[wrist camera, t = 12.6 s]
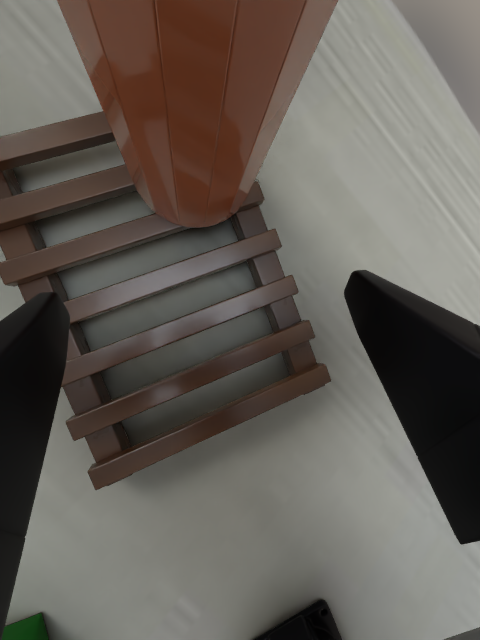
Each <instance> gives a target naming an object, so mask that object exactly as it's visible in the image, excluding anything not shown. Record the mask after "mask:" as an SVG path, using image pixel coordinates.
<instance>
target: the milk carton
mask: <svg viewBox="0 0 480 640" xmlns="http://www.w3.org/2000/svg"><path fill="white" fill-rule="evenodd" d="M2 640H49V638H48V635H47V631H46V628H45V624H44V621H43V617H42V613H40V614H37V615H35V616H32V617H29V618H27V619H24V620H21V621H19V622H16V623H13V624H11V625H8V626H5V627H4V631H3V635H2Z"/></svg>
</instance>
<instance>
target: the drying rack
mask: <svg viewBox="0 0 480 640" xmlns="http://www.w3.org/2000/svg"><path fill="white" fill-rule="evenodd" d="M113 141H116V140H115V137H114V135H113V133H112V130H111V128H110V125H109V123H108V121H107V118H106V116H105V114H104V111H102V112H98V113H94V114H90V115H86V116H82V117H78V118H74V119H70V120H66V121H62V122H58V123H54V124H50V125H46V126H42V127H38V128H34V129H30V130H26V131H22V132H17V133H13V134H9V135H5V136H1V137H0V246H1V248H2V250H3V253H4V255H5V257H6V259H7V260H6V261H3V262H0V276H1V278H2V280H3V283H4V284H5V285H8V286H17V285H18V287H19V289H20V291H21V293H22V296H23V298H24V300H25V303H26V302H28V301H29V300H30V299H32V298H33V297H34V296H36V295H37V294H39V293H42V292H57V293H58V294H59V295H60V297H61V299H62V301H63V303H64V304H65V306H66V308H67V310H68V312H69V315H70V328H69V339H68V349H67V359H66V367H65V372H64V376H63V380H62V385H61V387H62V386H63V389H64V391H65V393H66V396H67V398H68V400H69V402H70V405H71V407H72V409H73V411H74V414H75V415H74V416H72V417H71V418H69V419H68V420H67V421H66V424H67V427H68V429H69V431H70V433H71V436H72V438H73V440H74V441H76V440H78V439H80V438H83V437H85V439H86V441H87V443H88V445H89V448H90V450H91V452H92V454H93V457H94V459H95V461H96V463H94V464H92V466H91V467H90V468H89V470H88V474H89V476H90V479H91V481H92V483H93V485H94V488H95V490H98V489H100V488H102V487H104V486H109V485H111V484H113V483H115V482H117V481H119V480H122V479H124V478H126V477H128V476H130V475H132V474H133V473H134V472H137V471H139V470H141V469H143V468H145V467H147V466H150V465H152V464H154V463H156V462H158V461H160V460H163V459H165V458H167V457H169V456H171V455H173V454H175V453H178V452H180V451H182V450H184V449H186V448H188V447H191V446H193V445H195V444H197V443H199V442H201V441H203V440H206V439H208V438H210V437H212V436H214V435H216V434H219V433H221V432H223V431H225V430H227V429H229V428H231V427H234V426H236V425H238V424H240V423H242V422H244V421H247V420H249V419H251V418H253V417H255V416H257V415H260V414H262V413H264V412H266V411H268V410H270V409H272V408H275V407H277V406H279V405H281V404H283V403H285V402H288V401H290V400H292V399H294V398H296V397H298V396H300V395H303V394H304V395H305V394H307V393H309V392H312V391H314V390H316V389H318V388H320V387H322V386H325V384H326V383H328V382H331V378H330V376H329V373H328V370H327V368H326V365H325V364H323V363H317V362H316V359H315V357H314V354H313V351H312V349H311V346H310V343H309V340H310V339H313V338H315V335H314V332H313V330H312V327H311V324H310V322H309V320H303V321H301V319H300V316H299V313H298V311H297V308H296V305H295V303H294V300H293V297H292V295H294V294H297V293H298V289H297V286H296V283H295V281H294V278H293V276H292V275H290V276H287V277H285V276H284V273H283V270H282V268H281V265H280V262H279V259H278V257H277V254H276V250H278V249H279V248H281V247H282V245H281V243H280V240H279V237H278V234H277V232H276V229H272V230H269V231H268V230H267V227H266V224H265V222H264V219H263V216H262V214H261V211H260V208H259V205H261V204H262V202H263V201H264V197H263V194H262V191H261V189H260V186H259V183H258V181H256V182H254V183H253V185H252V187H251V189H250V191H249V194H248V196H247V198H246V200H245V201H244V203H243V204H242V206H241V207H240V208H239V209H238V210H237V211H236V212H235V213H234V214H233V215H232V216H231V217H230V218H231V220H232V223H233V226H234V228H235V231H236V234H237V236H238V239H239V241H237V242H234V243H232V244H229V245H226V246H223V247H220V248H217V249H214V250H211V251H209V252H206V253H203V254H200V255H197V256H194V257H191V258H189V259H186V260H183V261H180V262H177V263H174V264H171V265H169V266H166V267H163V268H160V269H157V270H154V271H151V272H149V273H146V274H143V275H140V276H137V277H134V278H131V279H129V280H126V281H123V282H120V283H117V284H114V285H111V286H109V287H106V288H103V289H100V290H97V291H94V292H91V293H89V294H86V295H83V296H80V297H77V298H74V299H71V300H68V298H67V295H66V293H65V291H64V288H63V286H62V284H61V281H60V279H59V277H58V274H57V272H59V271H62V270H65V269H68V268H71V267H74V266H77V265H80V264H83V263H86V262H89V261H92V260H95V259H98V258H101V257H104V256H107V255H110V254H113V253H116V252H119V251H122V250H125V249H128V248H131V247H134V246H137V245H140V244H143V243H146V242H149V241H152V240H155V239H158V238H161V237H164V236H167V235H170V234H173V233H176V232H179V231H183V230H186V229H189V228H192V227H185V226H181V225H177V224H175V223H172V222H170V221H168V220H166V219H164V218H162V217H161V216H159V215H158V214H157V213H155V214H152V215H148V216H145V217H142V218H139V219H136V220H133V221H129V222H126V223H123V224H120V225H117V226H114V227H111V228H107V229H104V230H101V231H98V232H95V233H92V234H88V235H85V236H82V237H79V238H76V239H73V240H69V241H66V242H63V243H60V244H57V245H54V246H50V247H47V248H46V247H45V244H44V242H43V240H42V237H41V235H40V233H39V230H38V228H37V226H36V223H35V221H36V220H39V219H43V218H46V217H50V216H53V215H56V214H60V213H63V212H66V211H70V210H73V209H76V208H80V207H83V206H86V205H90V204H93V203H96V202H100V201H103V200H106V199H110V198H113V197H116V196H120V195H123V194H126V193H130V192H133V191H136V190H137V189H136V187H135V185H134V183H133V180H132V178H131V176H130V173H129V171H128V168H127V166H126V164H125V165H121V166H118V167H114V168H111V169H107V170H104V171H100V172H97V173H93V174H89V175H86V176H82V177H79V178H75V179H72V180H68V181H65V182H61V183H58V184H54V185H50V186H47V187H43V188H40V189H36V190H33V191H29V192H26V193H22V191H21V188H20V186H19V184H18V181H17V179H16V177H15V174H14V172H13V170H12V168H16V167H19V166H23V165H27V164H31V163H34V162H38V161H42V160H46V159H49V158H53V157H57V156H61V155H64V154H68V153H72V152H76V151H79V150H83V149H87V148H91V147H94V146H98V145H102V144H106V143H109V142H113ZM246 261H247V263H248V265H249V268H250V271H251V273H252V276H253V279H254V281H255V284H256V287H257V288H256V289H253V290H250V291H248V292H245V293H243V294H240V295H237V296H235V297H232V298H230V299H227V300H224V301H222V302H219V303H217V304H214V305H211V306H209V307H206V308H203V309H201V310H198V311H196V312H193V313H190V314H188V315H185V316H183V317H180V318H177V319H175V320H172V321H170V322H167V323H164V324H162V325H159V326H157V327H154V328H151V329H149V330H146V331H143V332H141V333H138V334H136V335H133V336H130V337H128V338H125V339H123V340H120V341H117V342H115V343H112V344H110V345H107V346H104V347H102V348H99V349H97V350H94V351H90V349H89V347H88V344H87V342H86V340H85V337H84V335H83V333H82V330H81V328H80V326H79V323H78V322H81V321H83V320H86V319H89V318H92V317H94V316H97V315H100V314H103V313H105V312H108V311H111V310H114V309H116V308H119V307H122V306H125V305H127V304H130V303H133V302H136V301H138V300H141V299H144V298H147V297H149V296H152V295H155V294H158V293H160V292H163V291H166V290H169V289H171V288H174V287H177V286H180V285H182V284H185V283H188V282H191V281H193V280H196V279H199V278H202V277H204V276H207V275H210V274H213V273H215V272H218V271H221V270H224V269H226V268H229V267H232V266H235V265H237V264H240V263H243V262H246ZM262 307H264V308H265V310H266V313H267V316H268V318H269V321H270V323H271V326H272V329H273V331H274V333H271V334H269V335H267V336H264V337H262V338H259V339H257V340H255V341H252V342H250V343H247V344H245V345H243V346H240V347H238V348H235V349H233V350H230V351H228V352H226V353H223V354H221V355H218V356H216V357H214V358H211V359H209V360H206V361H204V362H202V363H199V364H197V365H194V366H192V367H190V368H187V369H185V370H182V371H180V372H178V373H175V374H173V375H170V376H168V377H166V378H163V379H161V380H158V381H156V382H154V383H151V384H149V385H146V386H144V387H142V388H139V389H137V390H134V391H132V392H129V393H127V394H125V395H122V396H120V397H117V398H115V399H113V400H111V398H110V396H109V393H108V391H107V389H106V386H105V384H104V382H103V379H102V377H101V375H100V371H103V370H105V369H108V368H110V367H113V366H115V365H118V364H120V363H123V362H125V361H128V360H130V359H133V358H136V357H138V356H141V355H143V354H146V353H148V352H151V351H153V350H156V349H158V348H161V347H163V346H166V345H168V344H171V343H173V342H176V341H178V340H181V339H183V338H186V337H188V336H191V335H193V334H196V333H199V332H201V331H204V330H206V329H209V328H211V327H214V326H216V325H219V324H221V323H224V322H226V321H229V320H231V319H234V318H236V317H239V316H241V315H244V314H246V313H249V312H251V311H254V310H256V309H259V308H262ZM280 352H281V353H282V355H283V358H284V360H285V363H286V366H287V368H288V371H289V374H290V376H288V377H286V378H284V379H282V380H280V381H277V382H275V383H273V384H271V385H268V386H266V387H264V388H262V389H259V390H257V391H255V392H253V393H251V394H248V395H246V396H244V397H242V398H239V399H237V400H235V401H233V402H230V403H228V404H226V405H224V406H222V407H219V408H217V409H215V410H213V411H210V412H208V413H206V414H204V415H201V416H199V417H197V418H195V419H193V420H190V421H188V422H186V423H184V424H181V425H179V426H177V427H175V428H172V429H170V430H168V431H166V432H164V433H161V434H159V435H157V436H155V437H152V438H150V439H148V440H146V441H143V442H141V443H139V444H137V445H134V446H132V447H131V445H130V442H129V440H128V438H127V435H126V433H125V431H124V428H123V426H122V424H121V421H122V420H125V419H127V418H129V417H131V416H134V415H136V414H138V413H141V412H143V411H145V410H148V409H150V408H152V407H155V406H157V405H159V404H162V403H164V402H166V401H169V400H171V399H173V398H176V397H178V396H180V395H183V394H185V393H187V392H190V391H192V390H194V389H197V388H199V387H201V386H204V385H206V384H208V383H210V382H213V381H215V380H217V379H220V378H222V377H224V376H227V375H229V374H231V373H234V372H236V371H238V370H241V369H243V368H245V367H248V366H250V365H252V364H255V363H257V362H259V361H262V360H264V359H266V358H269V357H271V356H273V355H276V354H278V353H280Z"/></svg>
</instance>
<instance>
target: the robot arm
mask: <svg viewBox="0 0 480 640" xmlns="http://www.w3.org/2000/svg"><path fill="white" fill-rule="evenodd" d="M344 297H345V300H346V303H347V305H348V308H349V311H350V314H351V317H352V320H353V322H354V325H355V328H356V331H357V333H358V335H359V338H360V340H361V342H362V344H363V346H364V348H365V350H366V352H367V354H368V356H369V358H370V360H371V363H372V365H373V367H374V369H375V371H376V373H377V375H378V377H379V379H380V381H381V383H382V385H383V387H384V389H385V391H386V393H387V395H388V398H389V400H390V402H391V404H392V406H393V408H394V410H395V412H396V414H397V416H398V418H399V420H400V422H401V424H402V426H403V428H404V430H405V432H406V435H407V437H408V439H409V441H410V443H411V445H412V447H413V449H414V451H415V453H416V455H417V456H418V460H419V462H420V464H421V466H422V468H423V470H424V472H425V474H426V476H427V478H428V480H429V482H430V484H431V486H432V488H433V490H434V493H435V495H436V497H437V499H438V501H439V503H440V505H441V507H442V509H443V511H444V513H445V515H446V517H447V519H448V521H449V523H450V526H451V528H452V530H453V532H454V534H455V536H456V538H457V539H458V541H459V543H460V544H461V545H462V544H467V543H471V542H476V541H480V326H478V325H476V324H473V323H472V322H470V321H468V320H466V319H464V318H462V317H460V316H458V315H456V314H454V313H452V312H450V311H448V310H446V309H444V308H442V307H440V306H438V305H436V304H434V303H432V302H430V301H428V300H426V299H424V298H422V297H420V296H418V295H416V294H414V293H411V292H409V291H407V290H405V289H403V288H401V287H399V286H397V285H395V284H393V283H391V282H389V281H387V280H385V279H383V278H381V277H379V276H377V275H375V274H373V273H371V272H369V271H367V270H357V271H353V272H352V273H351V276H350V278H349V280H348V283H347V285H346V288H345V290H344ZM69 328H70V315H69V312H68V310H67V308H66V306H65V304H64V303H63V301H62V299H61V297H60V295H59V294H58V293H57V292H42V293H39V294H37V295H36V296H34V297H33V298H32V299H30V300H29V301H28V302H26V303H25V304H23V305H22V306H21V307H19V308H18V309H17V310H15V311H14V312H12V313H11V314H10V315H8V316H7V317H6V318H4V319H3V320H1V321H0V640H2V635H3V631H4V627H5V623H6V618H7V614H8V610H9V606H10V602H11V597H12V593H13V589H14V585H15V580H16V576H17V572H18V568H19V563H20V559H21V555H22V551H23V547H24V542H25V536H26V533H27V529H28V524H29V520H30V516H31V512H32V507H33V503H34V499H35V495H36V490H37V486H38V482H39V478H40V474H41V469H42V465H43V461H44V457H45V452H46V448H47V444H48V440H49V435H50V431H51V427H52V423H53V419H54V414H55V410H56V406H57V402H58V397H59V393H60V389H61V385H62V380H63V376H64V372H65V367H66V359H67V349H68V339H69ZM322 609H323V610H322ZM255 640H342V639H341V636H340V633H339V631H338V628H337V626H336V623H335V621H334V618H333V616H332V613H331V611H330V608H329V606H328V604H327V602H326V601H325V600H320V601H318V602H316V603H314V604H313V605H311V606H309V607H308V608H306V609H304V610H303V611H301V612H299V613H298V614H296V615H294V616H293V617H291V618H289V619H288V620H286V621H284V622H283V623H281V624H280V625H278V626H276V627H275V628H273V629H271V630H270V631H268V632H266V633H265V634H263V635H261V636H260V637H258V638H256V639H255ZM444 640H480V627H479V628H476V629H473V630H470V631H467V632H464V633H461V634H458V635H455V636H452V637H450V638H447V639H444Z"/></svg>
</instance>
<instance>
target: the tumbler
mask: <svg viewBox="0 0 480 640" xmlns="http://www.w3.org/2000/svg"><path fill="white" fill-rule="evenodd" d="M57 1H58V4H59V6H60V9H61V11H62V13H63V16H64V18H65V20H66V23H67V25H68V28H69V30H70V32H71V35H72V37H73V40H74V42H75V44H76V47H77V49H78V52H79V54H80V56H81V59H82V61H83V63H84V66H85V68H86V71H87V73H88V75H89V78H90V80H91V83H92V85H93V87H94V90H95V92H96V94H97V97H98V99H99V102H100V104H101V106H102V109H103V111H104V114H105V116H106V118H107V121H108V123H109V125H110V128H111V130H112V133H113V135H114V137H115V140H116V142H117V145H118V147H119V149H120V152H121V154H122V156H123V159H124V161H125V164H126V166H127V168H128V171H129V173H130V176H131V178H132V180H133V183H134V185H135V187H136V189H137V191H138V193H139V194H140V196H141V197H142V199H143V200H144V202H145V203H146V204H147V205H148V206H149V207H150V208H151V209H152V210H153V211H154V212H155V213H157V214H158V215H159V216H161V217H162V218H164V219H166V220H168V221H170V222H172V223H175V224H177V225H181V226H185V227H194V228H201V227H208V226H212V225H216V224H218V223H221V222H223V221H225V220H226V219H228V218H229V217H231V216H232V215H233V214H234V213H235V212H236V211H237V210H238V209H239V208H240V207H241V206H242V204H243V203H244V201H245V200H246V198H247V196H248V194H249V191H250V189H251V187H252V185H253V183H254V181H255V178H256V176H257V174H258V172H259V170H260V168H261V166H262V163H263V161H264V159H265V157H266V155H267V153H268V150H269V148H270V146H271V144H272V142H273V140H274V138H275V135H276V133H277V131H278V129H279V127H280V125H281V123H282V120H283V118H284V116H285V114H286V112H287V110H288V107H289V105H290V103H291V101H292V99H293V97H294V95H295V92H296V90H297V88H298V86H299V84H300V82H301V80H302V77H303V75H304V73H305V71H306V69H307V67H308V64H309V62H310V60H311V58H312V56H313V54H314V52H315V49H316V47H317V45H318V43H319V41H320V39H321V37H322V34H323V32H324V30H325V28H326V26H327V24H328V21H329V19H330V17H331V15H332V13H333V11H334V9H335V6H336V4H337V2H338V0H57Z"/></svg>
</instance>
